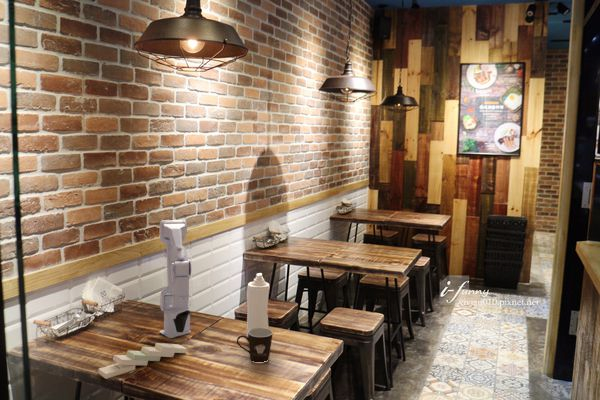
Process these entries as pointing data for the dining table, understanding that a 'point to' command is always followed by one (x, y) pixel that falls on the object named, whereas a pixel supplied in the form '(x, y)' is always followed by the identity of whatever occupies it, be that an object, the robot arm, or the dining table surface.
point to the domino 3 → (141, 356)
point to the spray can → (257, 303)
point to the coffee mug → (258, 344)
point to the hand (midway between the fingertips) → (180, 331)
